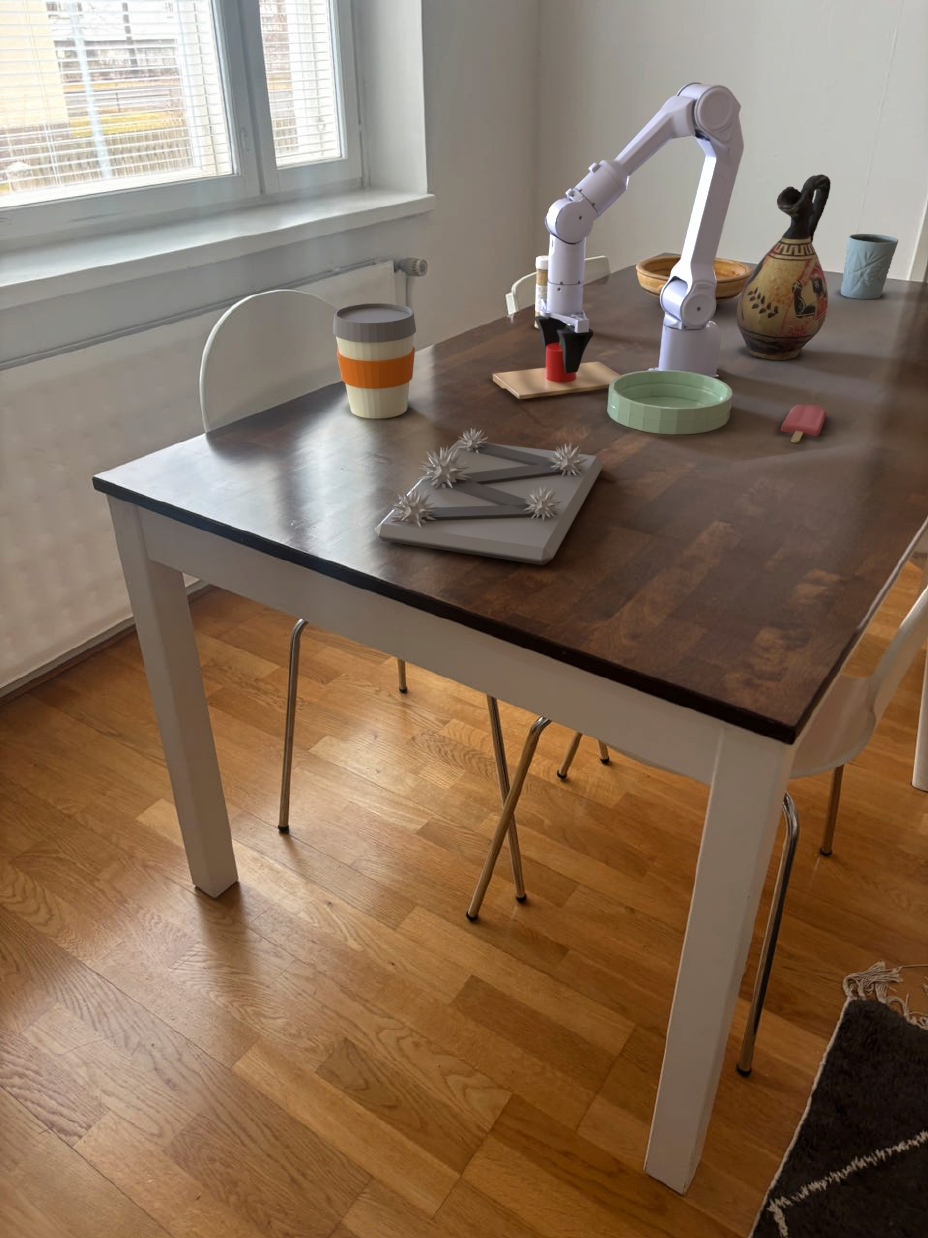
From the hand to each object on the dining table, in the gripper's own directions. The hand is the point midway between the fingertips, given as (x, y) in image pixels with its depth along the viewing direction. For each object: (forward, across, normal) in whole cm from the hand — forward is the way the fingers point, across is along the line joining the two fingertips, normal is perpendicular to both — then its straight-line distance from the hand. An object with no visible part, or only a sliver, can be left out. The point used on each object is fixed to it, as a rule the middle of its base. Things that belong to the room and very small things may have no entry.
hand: (561, 365), depth 159 cm
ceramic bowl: (+3, -39, +48) cm, 62 cm away
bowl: (+3, +20, +9) cm, 22 cm away
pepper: (+2, 0, 0) cm, 2 cm away
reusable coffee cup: (+3, +1, -32) cm, 32 cm away
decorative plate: (+3, +41, -27) cm, 49 cm away
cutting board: (+3, 0, 0) cm, 3 cm away
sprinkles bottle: (+3, -34, +12) cm, 36 cm away
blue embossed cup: (+3, -34, +89) cm, 95 cm away
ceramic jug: (+3, -3, +45) cm, 45 cm away
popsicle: (+3, +32, +25) cm, 41 cm away
